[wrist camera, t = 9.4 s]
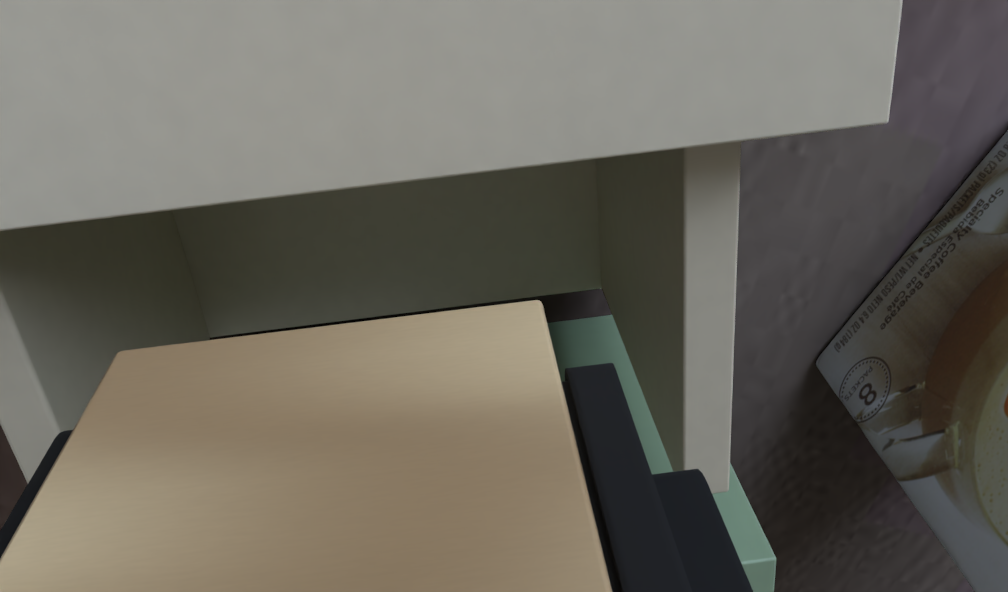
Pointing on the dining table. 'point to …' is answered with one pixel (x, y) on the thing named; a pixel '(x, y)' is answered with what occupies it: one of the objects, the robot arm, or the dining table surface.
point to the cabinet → (402, 91)
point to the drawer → (412, 290)
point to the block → (323, 466)
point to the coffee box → (942, 373)
